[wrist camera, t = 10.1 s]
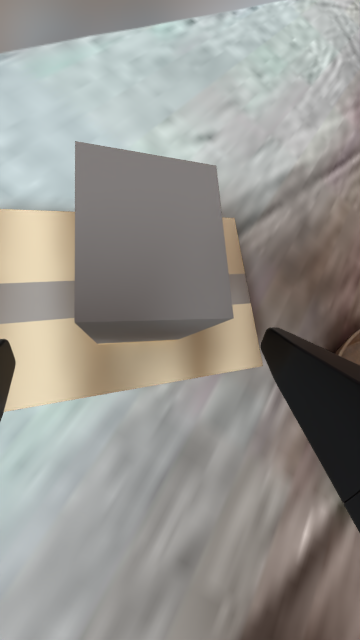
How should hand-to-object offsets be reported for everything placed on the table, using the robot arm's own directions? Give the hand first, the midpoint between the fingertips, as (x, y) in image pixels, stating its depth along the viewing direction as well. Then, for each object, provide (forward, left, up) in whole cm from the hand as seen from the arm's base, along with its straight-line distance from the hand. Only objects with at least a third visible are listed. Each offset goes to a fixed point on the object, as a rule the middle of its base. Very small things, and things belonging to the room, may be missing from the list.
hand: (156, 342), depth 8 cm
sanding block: (+2, -3, -7) cm, 8 cm away
